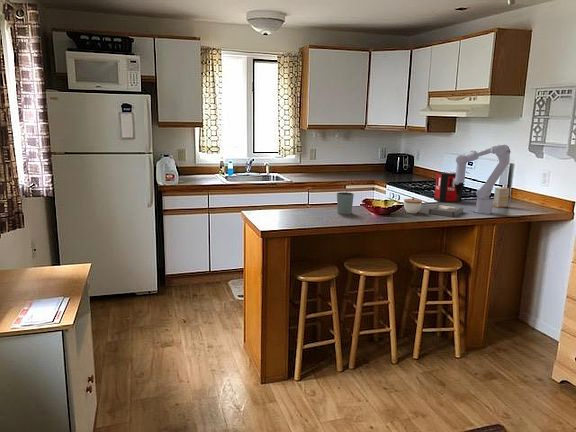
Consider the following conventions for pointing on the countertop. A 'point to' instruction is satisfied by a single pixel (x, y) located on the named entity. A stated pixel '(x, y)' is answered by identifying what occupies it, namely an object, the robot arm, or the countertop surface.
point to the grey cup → (344, 202)
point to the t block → (447, 208)
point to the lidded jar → (412, 205)
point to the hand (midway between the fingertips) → (458, 194)
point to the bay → (445, 213)
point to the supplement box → (501, 197)
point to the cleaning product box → (446, 188)
